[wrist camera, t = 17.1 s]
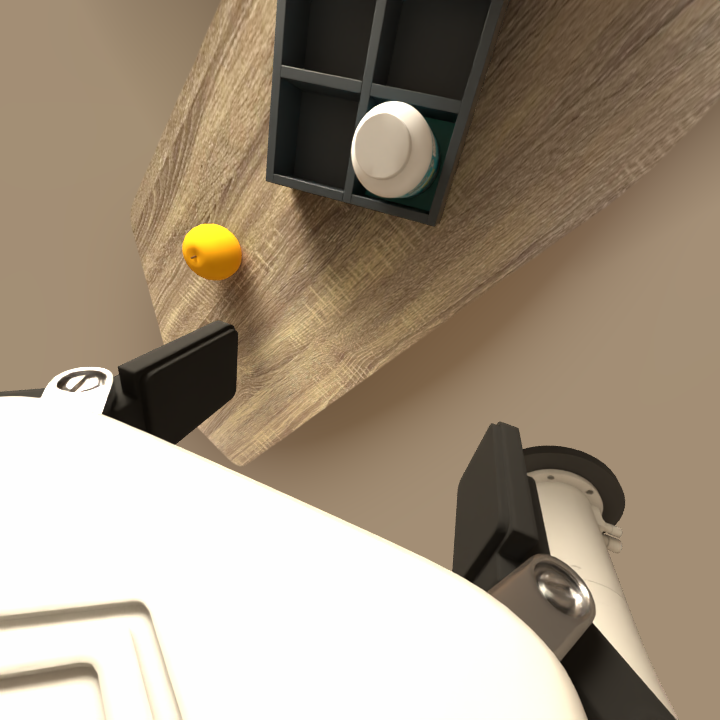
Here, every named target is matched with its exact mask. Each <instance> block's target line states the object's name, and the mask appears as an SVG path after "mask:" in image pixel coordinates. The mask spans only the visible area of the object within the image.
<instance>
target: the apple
mask: <svg viewBox="0 0 720 720" xmlns="http://www.w3.org/2000/svg"><path fill="white" fill-rule="evenodd" d="M183 255H184V259H185V261H186V263H187V265H188V266H189V267H190V269H191V270H192V271H194V272H195V273H196V274H197V275H199V276H201V277H203V278H205V279H208V280H223V279H226V278H228V277H230V276H232V275H233V274H234V273H235V272H236V271H237V270H238V268H239V266H240V264H241V259H242V252H241V247H240V245H239V242H238V240H237V239H236V238H235V236H234V235H233V234H232V233H231V232H230V231H228V230H227V229H226V228H224V227H221V226H219V225H216V224H202V225H199V226H197V227H195V228H193V229H192V230H191V231H190V232H189V233H188V234H187V235H186V237H185V239H184V242H183Z"/></svg>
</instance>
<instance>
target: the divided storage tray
mask: <svg viewBox="0 0 720 720" xmlns="http://www.w3.org/2000/svg"><path fill="white" fill-rule="evenodd" d="M509 1H510V0H277V12H276V28H275V44H274V59H273V75H272V91H271V106H270V122H269V138H268V153H267V169H266V181H267V182H271V183H275V184H278V185H282V186H286V187H290V188H293V189H297V190H301V191H304V192H308V193H312V194H316V195H319V196H323V197H327V198H330V199H334V200H338V201H342V202H345V203H349V204H353V205H356V206H360V207H364V208H368V209H371V210H375V211H379V212H382V213H386V214H390V215H394V216H397V217H401V218H405V219H408V220H412V221H416V222H420V223H423V224H427V225H431V226H436V225H438V224H439V223H440V221H441V218H442V215H443V212H444V208H445V205H446V202H447V199H448V196H449V192H450V189H451V186H452V183H453V180H454V176H455V173H456V170H457V167H458V164H459V161H460V157H461V154H462V151H463V148H464V145H465V141H466V138H467V135H468V132H469V129H470V125H471V122H472V119H473V116H474V113H475V110H476V106H477V103H478V100H479V97H480V94H481V90H482V87H483V84H484V81H485V78H486V74H487V71H488V68H489V65H490V62H491V59H492V55H493V52H494V49H495V46H496V43H497V39H498V36H499V33H500V30H501V27H502V23H503V20H504V17H505V14H506V11H507V7H508V4H509ZM391 101H398V102H403V103H406V104H408V105H410V106H412V107H414V108H415V109H416V110H417V111H418V112H419V113H420V114H421V115H422V116H423V118H424V119H425V120H426V122H427V124H428V125H429V127H430V129H431V131H432V132H433V134H434V136H435V138H436V140H437V142H438V145H439V149H440V166H439V170H438V173H437V175H436V177H435V179H434V181H433V182H432V184H431V185H430V186H429V187H428V188H427V189H426V190H425V191H424V192H422V193H421V194H419V195H417V196H414V197H411V198H386V197H381V196H378V195H375V194H373V193H371V192H370V191H368V190H367V189H366V188H365V187H364V186H363V185H362V184H361V182H360V181H359V179H358V178H357V176H356V174H355V171H354V168H353V164H352V156H351V149H352V141H353V137H354V134H355V131H356V129H357V127H358V125H359V123H360V122H361V120H362V119H363V117H364V116H365V115H366V114H367V113H368V112H369V111H370V110H372V109H373V108H374V107H376V106H378V105H380V104H382V103H385V102H391Z"/></svg>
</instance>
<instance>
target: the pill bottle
mask: <svg viewBox="0 0 720 720" xmlns="http://www.w3.org/2000/svg"><path fill="white" fill-rule="evenodd" d="M351 156H352V164H353V168H354V171H355V174H356V176H357V178H358V179H359V181H360V182H361V184H362V185H363V186H364V187H365V188H366V189H367V190H368V191H370V192H371V193H373V194H375V195H378V196H381V197H386V198H411V197H414V196H417V195H419V194H421V193H422V192H424V191H425V190H426V189H427V188H428V187H429V186H430V185H431V184H432V182H433V181H434V179H435V177H436V175H437V173H438V170H439V166H440V149H439V145H438V142H437V140H436V138H435V136H434V134H433V132H432V131H431V129H430V127H429V125H428V124H427V122H426V120H425V119H424V118H423V116H422V115H421V114H420V113H419V112H418V111H417V110H416V109H415V108H414V107H412V106H410V105H408V104H406V103H403V102H398V101H391V102H385V103H382V104H380V105H378V106H376V107H374V108H373V109H372V110H370V111H369V112H368V113H367V114H366V115H365V116H364V117H363V119H362V120H361V122H360V123H359V125H358V127H357V129H356V131H355V134H354V137H353V141H352V149H351Z"/></svg>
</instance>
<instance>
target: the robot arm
mask: <svg viewBox="0 0 720 720" xmlns="http://www.w3.org/2000/svg"><path fill="white" fill-rule="evenodd" d="M237 351H238V332H237V331H236V330H235V328H234V326H233V325H231V324H228V323H225V322H222V321H219V320H217V321H215V322H212V323H210V324H208V325H206V326H204V327H202V328H200V329H197V330H195V331H193V332H191V333H189V334H187V335H185V336H182V337H180V338H178V339H176V340H174V341H172V342H170V343H167V344H165V345H163V346H161V347H159V348H157V349H155V350H152V351H150V352H148V353H146V354H144V355H142V356H140V357H137V358H135V359H133V360H131V361H129V362H127V363H125V364H122V365H120V366H118V371H119V375H117V376H115V377H113V375H112V373H111V372H110V371H108V370H106V369H102V368H98V367H97V368H96V367H84V368H77V369H72V370H69V371H66V372H63V373H61V374H59V375H57V376H56V377H54V378H53V379H52V380H51V381H50V383H49V384H48V386H47V388H43V389H31V390H19V391H6V392H0V720H679V719H678V717H677V715H676V713H675V711H674V709H673V708H672V706H671V704H670V702H669V700H668V698H667V696H666V694H665V692H664V690H663V688H662V685H661V683H660V681H659V679H658V677H657V675H656V673H655V671H654V668H653V666H652V664H651V662H650V659H649V657H648V655H647V653H646V650H645V647H644V645H643V643H642V640H641V637H640V635H639V633H638V630H637V627H636V625H635V622H634V620H633V617H632V614H631V612H630V609H629V607H628V604H627V601H626V598H625V596H624V593H623V590H622V588H621V585H620V582H619V580H618V577H617V574H616V571H615V569H614V566H613V563H612V561H611V558H610V556H609V553H608V550H610V551H612V552H615V553H619V552H620V551H621V550H622V544H621V541H620V540H618V539H616V538H613V537H611V536H608V535H606V534H605V535H604V534H601V533H602V532H603V531H604V532H607V533H609V534H611V535H613V536H616V537H621V535H622V529H621V528H619V527H617V526H614V525H612V524H608V523H605V521H604V520H603V518H602V512H603V503H602V500H601V497H600V495H599V493H598V491H597V489H596V488H595V487H594V486H593V485H592V484H591V483H590V482H589V481H587V480H586V479H585V478H583V477H581V476H579V475H577V474H574V473H571V472H568V471H564V470H557V469H542V470H536V471H532V472H529V473H527V471H526V466H525V460H524V455H523V449H522V444H521V438H520V433H519V429H518V428H516V427H514V426H511V425H508V424H506V423H502V422H498V424H497V425H495V424H491V425H490V426H489V428H488V430H487V432H486V434H485V435H484V437H483V439H482V441H481V443H480V445H479V446H478V448H477V450H476V452H475V454H474V456H473V457H472V459H471V461H470V463H469V465H468V467H467V469H466V471H465V472H464V474H463V476H462V478H461V480H460V483H459V486H458V494H457V509H456V526H455V540H454V555H453V570H452V571H449V570H448V569H446V568H444V567H442V566H440V565H438V564H436V563H434V562H432V561H430V560H428V559H426V558H424V557H422V556H420V555H417V554H415V553H413V552H411V551H409V550H407V549H405V548H403V547H401V546H398V545H396V544H394V543H392V542H390V541H388V540H385V539H383V538H381V537H379V536H377V535H375V534H373V533H370V532H368V531H366V530H364V529H362V528H359V527H357V526H355V525H353V524H350V523H348V522H346V521H344V520H342V519H340V518H337V517H335V516H333V515H330V514H328V513H326V512H324V511H322V510H320V509H318V508H315V507H313V506H311V505H309V504H306V503H304V502H302V501H300V500H298V499H295V498H293V497H291V496H289V495H286V494H284V493H282V492H280V491H277V490H275V489H273V488H271V487H269V486H266V485H264V484H262V483H259V482H257V481H255V480H253V479H251V478H248V477H246V476H244V475H242V474H239V473H237V472H235V471H233V470H230V469H228V468H226V467H223V466H221V465H219V464H217V463H214V462H212V461H210V460H208V459H206V458H203V457H201V456H199V455H196V454H194V453H192V452H189V451H187V450H185V449H183V448H180V447H178V446H176V445H175V444H177V443H178V442H179V441H180V440H182V439H183V438H184V437H185V436H186V435H188V434H189V433H190V432H191V431H193V430H194V429H195V428H196V427H198V426H199V425H200V424H201V423H202V422H204V421H205V420H206V419H207V418H209V417H210V416H211V415H212V414H214V413H215V412H216V411H217V410H218V409H220V408H221V407H222V406H223V405H225V404H226V403H227V402H228V401H229V400H231V399H232V398H233V396H234V395H235V392H236V380H237Z"/></svg>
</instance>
